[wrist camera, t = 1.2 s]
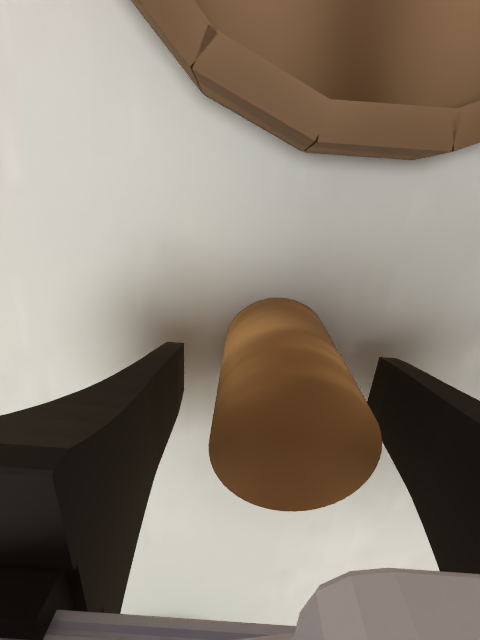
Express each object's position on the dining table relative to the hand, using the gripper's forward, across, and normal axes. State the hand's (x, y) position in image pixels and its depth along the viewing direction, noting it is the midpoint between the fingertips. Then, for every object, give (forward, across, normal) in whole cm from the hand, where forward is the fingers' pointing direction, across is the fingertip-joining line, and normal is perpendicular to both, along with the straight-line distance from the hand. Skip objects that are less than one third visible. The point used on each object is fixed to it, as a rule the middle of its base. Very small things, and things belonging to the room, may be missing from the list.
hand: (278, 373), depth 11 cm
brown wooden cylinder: (+2, 0, 0) cm, 2 cm away
